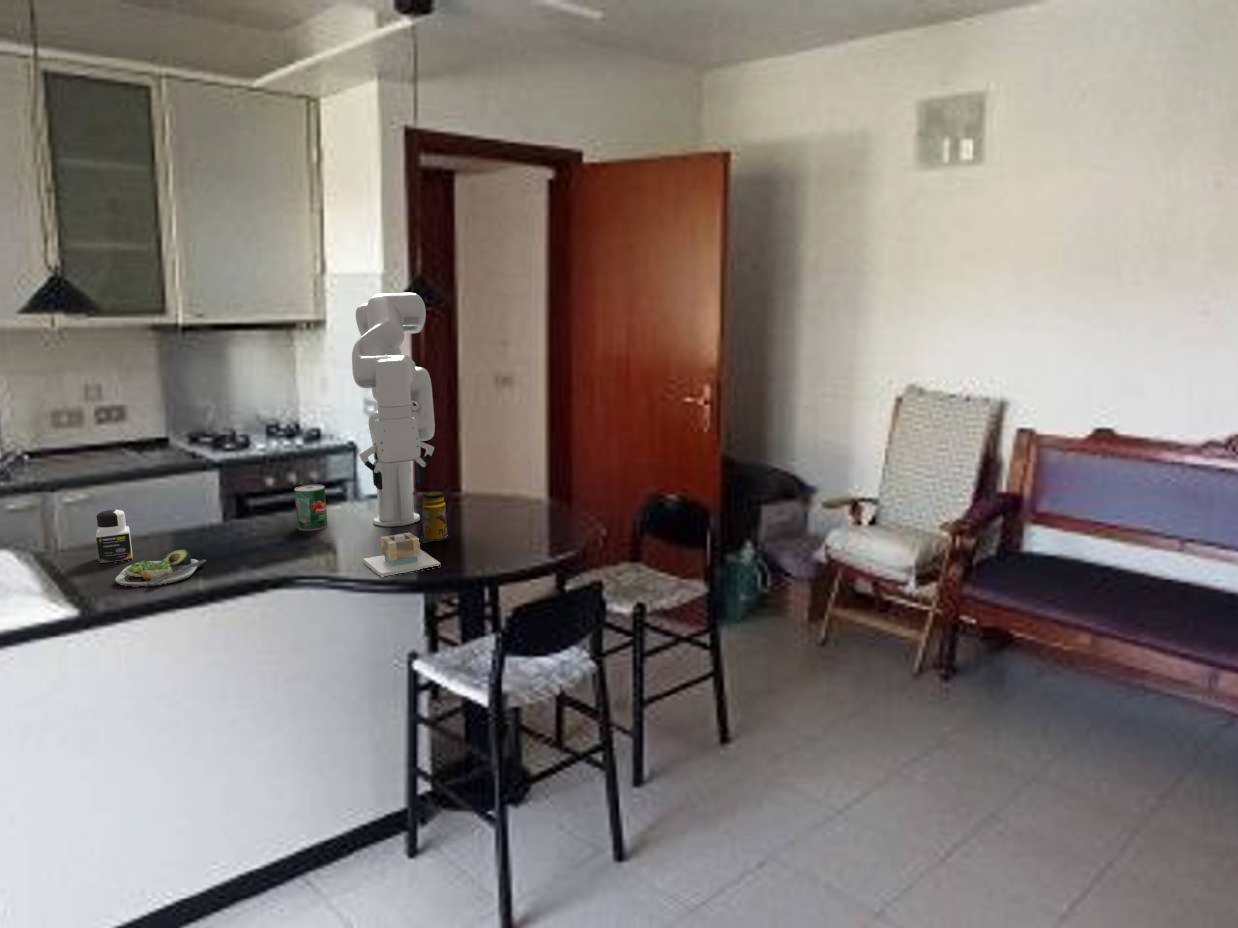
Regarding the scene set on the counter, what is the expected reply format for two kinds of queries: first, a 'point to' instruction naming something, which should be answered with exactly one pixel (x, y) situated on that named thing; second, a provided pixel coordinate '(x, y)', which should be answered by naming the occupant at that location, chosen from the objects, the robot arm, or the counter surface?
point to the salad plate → (161, 570)
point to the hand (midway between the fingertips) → (399, 485)
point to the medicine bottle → (113, 536)
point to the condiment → (434, 515)
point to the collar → (400, 547)
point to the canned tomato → (311, 507)
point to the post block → (400, 562)
